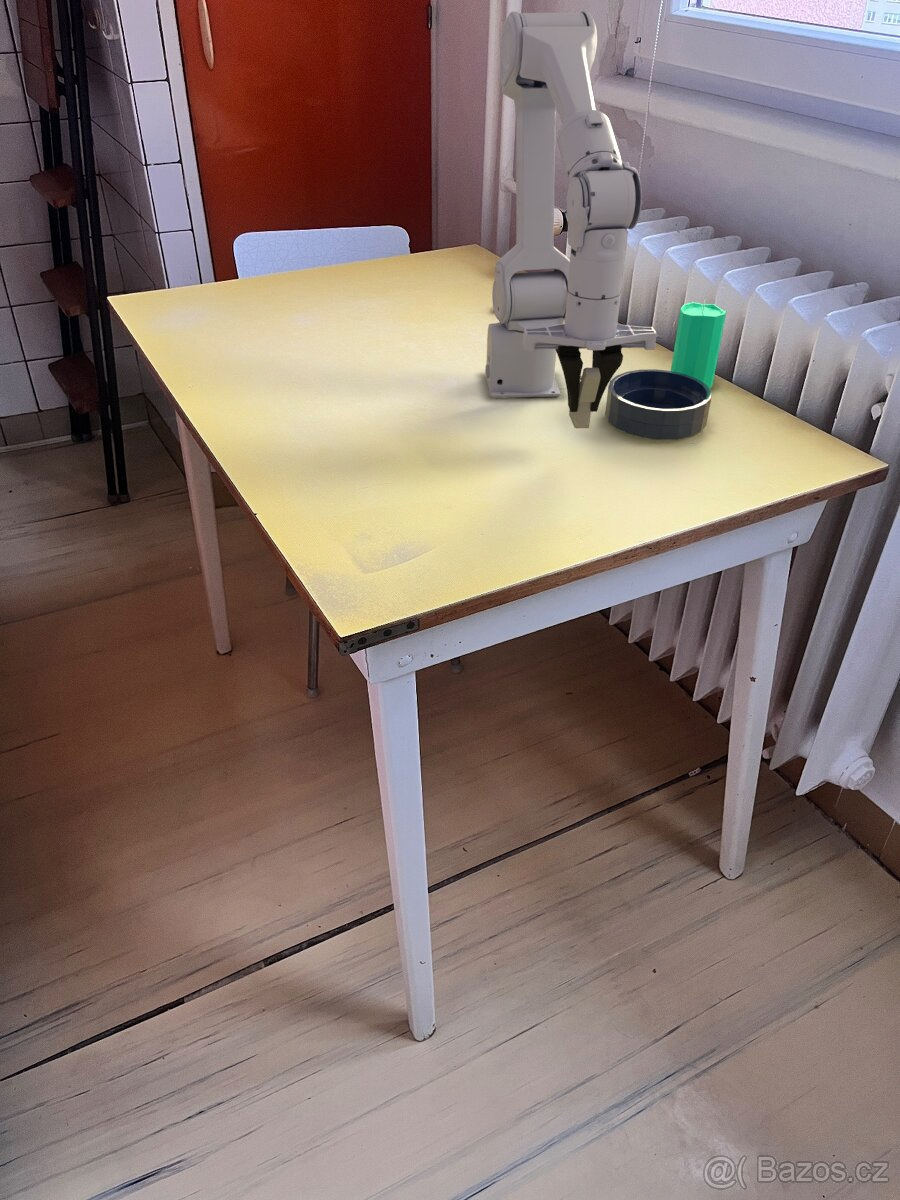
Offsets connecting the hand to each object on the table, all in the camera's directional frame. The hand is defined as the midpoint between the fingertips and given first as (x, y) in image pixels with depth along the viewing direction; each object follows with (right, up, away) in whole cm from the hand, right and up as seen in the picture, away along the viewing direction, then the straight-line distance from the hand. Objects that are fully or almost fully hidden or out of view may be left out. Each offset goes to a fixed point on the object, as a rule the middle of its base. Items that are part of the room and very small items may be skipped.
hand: (582, 408), depth 108 cm
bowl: (+11, +1, +13) cm, 17 cm away
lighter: (0, -2, +1) cm, 2 cm away
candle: (+18, +8, +23) cm, 30 cm away
